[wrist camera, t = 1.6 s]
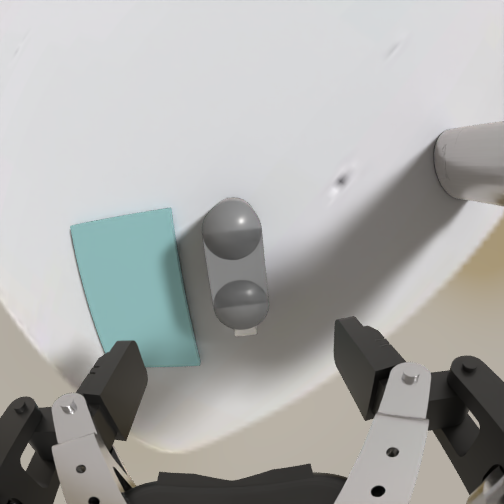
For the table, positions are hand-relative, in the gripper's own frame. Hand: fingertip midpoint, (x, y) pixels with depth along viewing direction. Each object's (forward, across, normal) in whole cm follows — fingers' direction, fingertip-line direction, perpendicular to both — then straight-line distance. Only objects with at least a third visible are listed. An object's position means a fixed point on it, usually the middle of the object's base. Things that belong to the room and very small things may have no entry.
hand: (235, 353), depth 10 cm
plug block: (+18, 0, 0) cm, 18 cm away
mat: (+18, +12, +4) cm, 22 cm away
